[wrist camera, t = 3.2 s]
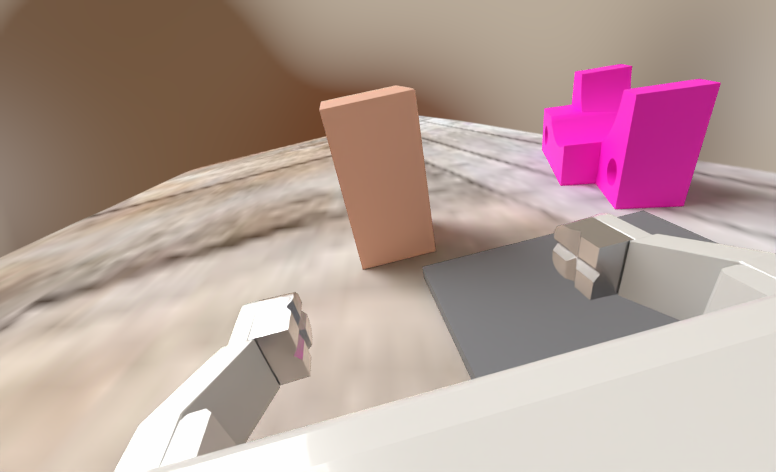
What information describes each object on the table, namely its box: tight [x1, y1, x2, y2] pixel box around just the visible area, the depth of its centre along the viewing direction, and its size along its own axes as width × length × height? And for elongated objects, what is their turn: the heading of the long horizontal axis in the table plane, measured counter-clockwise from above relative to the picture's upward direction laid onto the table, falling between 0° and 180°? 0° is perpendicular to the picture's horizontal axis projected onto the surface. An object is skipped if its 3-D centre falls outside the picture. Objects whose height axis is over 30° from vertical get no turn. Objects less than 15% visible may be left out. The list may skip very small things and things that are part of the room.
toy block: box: [542, 64, 720, 209], centre depth 26 cm, size 15×6×8 cm, turn 165°
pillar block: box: [319, 86, 436, 269], centre depth 21 cm, size 5×5×10 cm
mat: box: [422, 211, 718, 379], centre depth 13 cm, size 14×14×1 cm
